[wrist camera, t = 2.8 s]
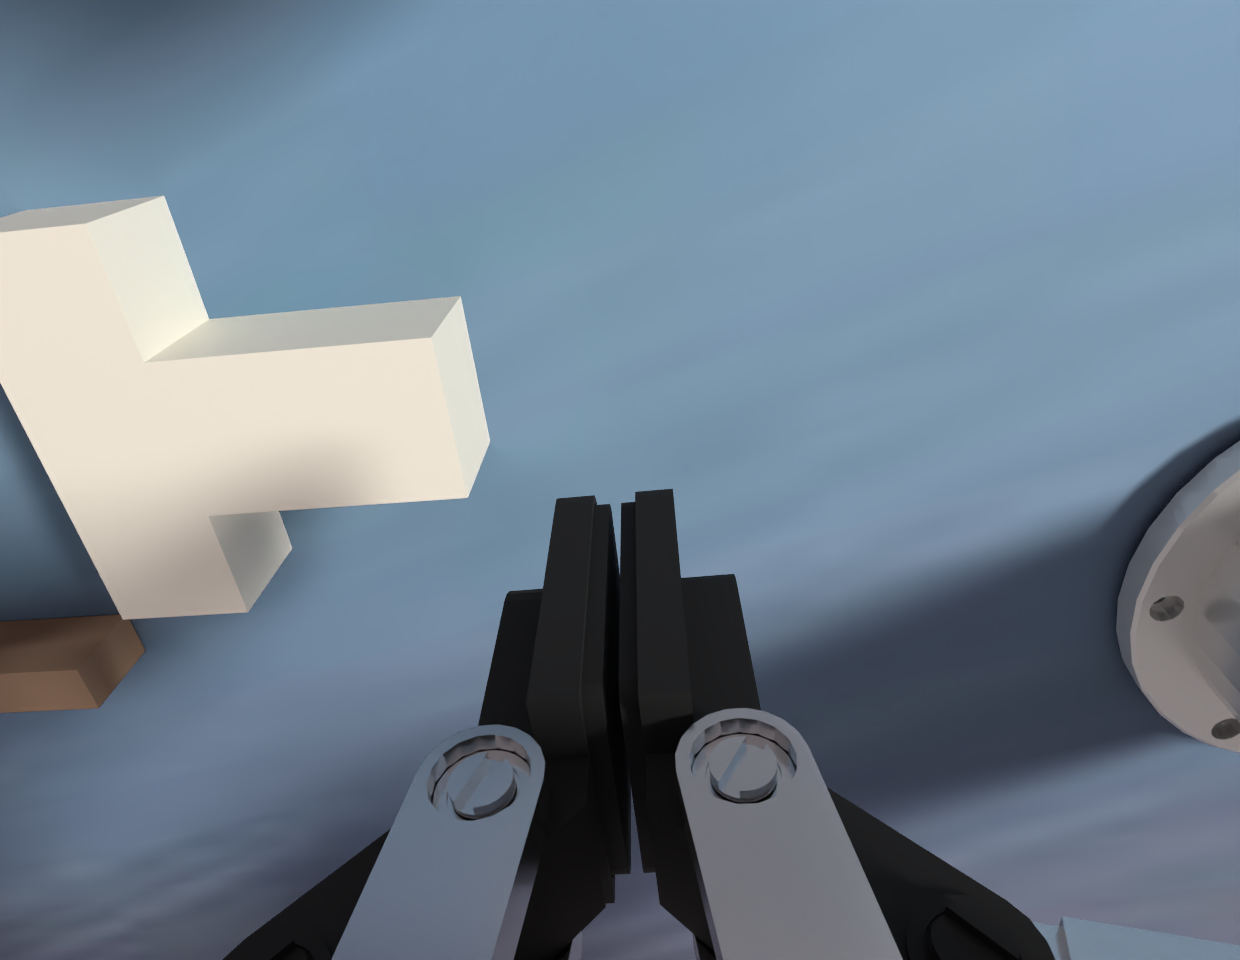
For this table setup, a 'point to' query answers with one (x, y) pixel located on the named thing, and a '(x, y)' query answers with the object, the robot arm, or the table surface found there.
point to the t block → (215, 406)
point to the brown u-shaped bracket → (64, 661)
